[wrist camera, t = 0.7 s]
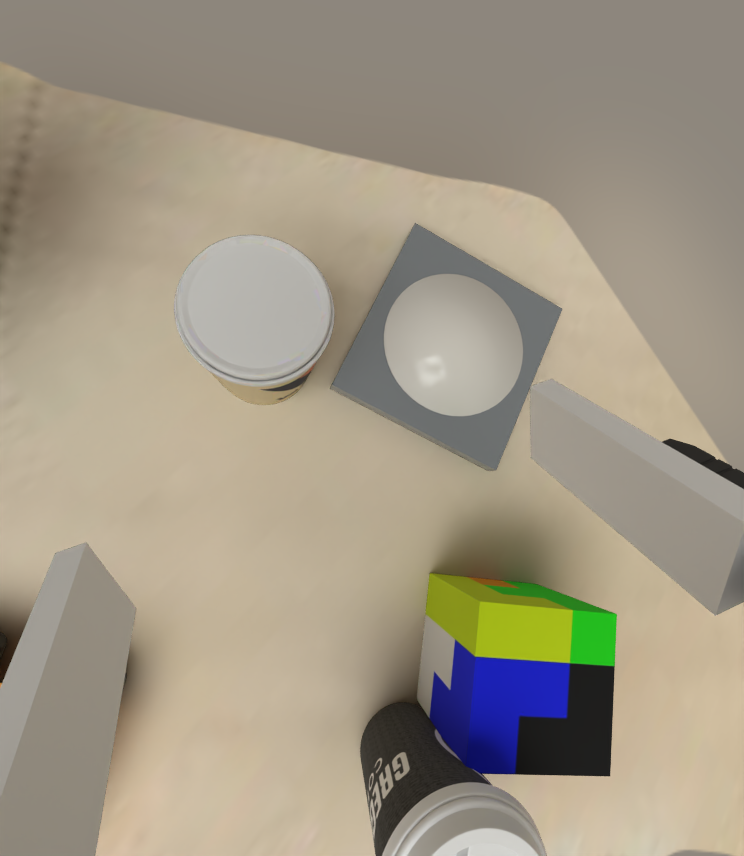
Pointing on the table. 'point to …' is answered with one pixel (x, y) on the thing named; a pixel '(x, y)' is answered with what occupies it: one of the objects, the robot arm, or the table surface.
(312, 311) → the coffee cup
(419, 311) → the gray square plate
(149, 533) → the table surface
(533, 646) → the puzzle toy
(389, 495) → the table surface
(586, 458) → the robot arm
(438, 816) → the coffee cup
